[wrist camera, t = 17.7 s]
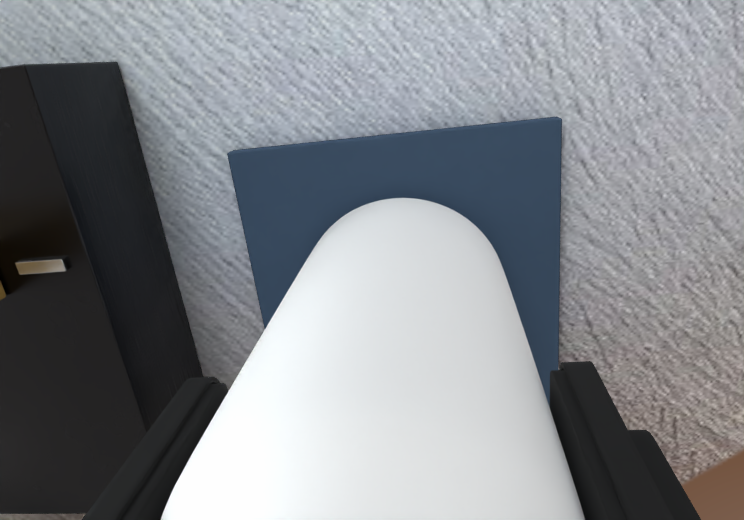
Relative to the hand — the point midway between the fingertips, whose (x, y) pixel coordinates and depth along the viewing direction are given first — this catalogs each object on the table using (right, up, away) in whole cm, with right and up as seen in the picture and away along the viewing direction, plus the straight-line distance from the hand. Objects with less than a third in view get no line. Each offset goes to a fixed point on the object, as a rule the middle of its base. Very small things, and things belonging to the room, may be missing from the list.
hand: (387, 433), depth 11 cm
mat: (+1, +3, +7) cm, 8 cm away
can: (+1, +3, +7) cm, 7 cm away
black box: (-12, +3, +8) cm, 15 cm away
